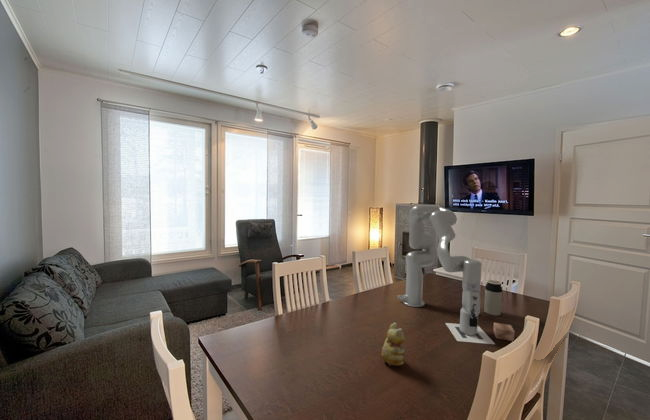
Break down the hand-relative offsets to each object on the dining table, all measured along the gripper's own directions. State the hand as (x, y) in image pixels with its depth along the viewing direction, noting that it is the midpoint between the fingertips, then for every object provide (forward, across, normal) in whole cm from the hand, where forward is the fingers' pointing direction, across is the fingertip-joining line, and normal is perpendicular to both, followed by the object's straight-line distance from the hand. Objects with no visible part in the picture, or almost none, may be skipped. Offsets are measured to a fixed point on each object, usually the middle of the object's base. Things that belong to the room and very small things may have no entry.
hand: (469, 321), depth 133 cm
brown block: (+6, 0, -15) cm, 16 cm away
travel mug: (+6, +28, -23) cm, 37 cm away
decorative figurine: (+6, -30, +39) cm, 50 cm away
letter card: (+6, 0, 0) cm, 6 cm away
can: (+6, 0, 0) cm, 6 cm away
